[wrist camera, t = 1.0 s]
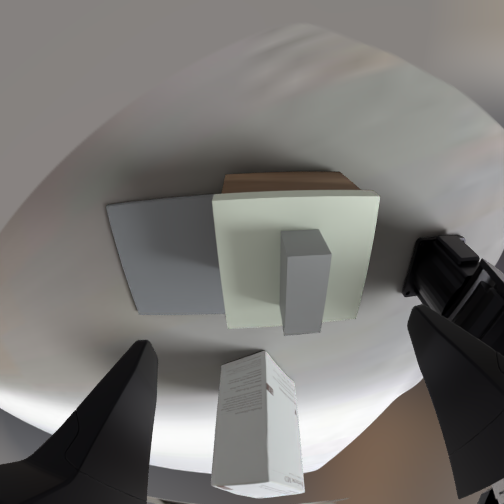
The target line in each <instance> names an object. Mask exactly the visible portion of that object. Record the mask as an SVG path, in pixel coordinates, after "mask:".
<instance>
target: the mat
mask: <svg viewBox="0 0 504 504" xmlns="http://www.w3.org/2000/svg"><path fill="white" fill-rule="evenodd" d="M213 196H214V194H208V195H195V196H183V197H172V198H162V199H152V200H143V201H134V202H126V203H118V204H110V205H107V206H106V209H107V213H108V217H109V221H110V225H111V229H112V232H113V236H114V240H115V243H116V247H117V250H118V254H119V257H120V260H121V263H122V267H123V270H124V273H125V276H126V279H127V282H128V285H129V288H130V291H131V293H132V296H133V299H134V302H135V305H136V307H137V310H138V313H139V315H186V314H226V313H225V306H224V299H223V291H222V284H221V276H220V268H219V260H218V251H217V243H216V234H215V225H214V216H213V206H212V199H213Z"/></svg>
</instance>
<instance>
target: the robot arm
mask: <svg viewBox="0 0 504 504" xmlns="http://www.w3.org/2000/svg"><path fill="white" fill-rule="evenodd" d="M465 242H466V240H465V238H464V237H463V236H456V235H445V236H437V237H427V238H419V239H418V240H417V241H416V245H415V249H414V252H413V256H412V260H411V264H410V267H409V271H408V274H407V277H406V281H405V284H404V287H403V290H402V294H403V296H404V297H411V296H418V298H419V299H420V301H421V302H422V304H421V305H417V306H414V307H413V309H412V311H411V314H410V317H409V320H408V324H407V327H408V331H409V334H410V338H411V341H412V344H413V348H414V351H415V355H416V358H417V361H418V364H419V367H420V370H421V372H422V375H423V378H424V380H425V383H426V386H427V388H428V391H429V394H430V396H431V399H432V402H433V405H434V408H435V411H436V414H437V417H438V420H439V424H440V426H441V430H442V433H443V437H444V440H445V444H446V447H447V451H448V455H449V459H450V463H451V467H452V471H453V475H454V480H455V484H456V490H457V495H458V499H461V498H464V497H466V496H468V495H471V494H473V493H475V492H477V491H480V490H482V489H484V488H486V487H488V486H490V485H492V487H491V488H490V489H488V490H487V491H486V492H484V493H483V494H481V497H480V499H479V502H478V504H504V274H503V273H502V272H501V271H500V270H498V269H497V268H496V267H494V266H493V265H491V264H490V263H489V262H487V261H486V260H484V259H483V258H482V259H481V261H480V263H479V259H480V258H479V256H478V255H477V254H476V253H475V252H474V251H473V250H472V249H471V248H470V247H469V246H467V245H466V244H465ZM421 243H422V244H421ZM420 244H421V245H420ZM157 371H158V358H157V355H156V353H155V351H154V349H153V347H152V345H151V343H150V342H149V341H148V340H137V341H136V342H135V343H134V344H133V345H132V346H131V347H130V348H129V350H128V351H127V352H126V353H125V354H124V355H123V356H122V357H121V358H120V360H119V361H118V362H117V363H116V364H115V365H114V366H113V367H112V369H111V370H110V371H109V372H108V373H107V374H106V375H105V377H104V378H103V379H102V380H101V381H100V382H99V383H98V384H97V386H96V387H95V388H94V389H93V390H92V391H91V393H90V394H89V395H88V396H87V397H86V398H85V399H84V401H83V402H82V403H81V404H80V405H79V406H78V408H77V409H76V410H75V411H74V412H73V413H72V414H71V416H70V417H69V418H68V419H67V420H66V421H65V422H64V424H63V425H62V426H61V427H60V428H59V429H58V430H57V431H56V432H55V433H54V434H53V435H52V436H51V437H50V438H49V439H48V440H47V441H46V442H45V443H44V444H43V445H42V446H41V447H39V449H38V450H37V451H35V452H34V454H32V455H31V456H29V457H28V458H26V459H24V460H21V461H18V462H12V463H7V464H1V465H0V504H147V502H146V501H147V486H148V473H149V461H150V451H151V441H152V432H153V424H154V416H155V408H156V400H157Z"/></svg>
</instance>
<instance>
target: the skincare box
mask: <svg viewBox="0 0 504 504" xmlns="http://www.w3.org/2000/svg"><path fill="white" fill-rule="evenodd" d="M211 485H212V486H214V487H217V488H220V489H223V490H226V491H229V492H232V493H234V494H238V495H244V496H248V497H253V498H266V497H276V496H284V495H292V494H300V493H304V492H305V490H304V479H303V466H302V454H301V442H300V431H299V421H298V411H297V401H296V391H295V384H294V381H292V380H291V379H290V378H289V377H288V376H287V375H286V374H285V373H284V372H283V371H282V370H281V369H280V368H279V367H278V366H277V364H276V363H275V362H274V361H273V359H272V358H271V357H270V355H269V354H268V353H267V352H266V351H262V352H259V353H256V354H253V355H250V356H247V357H244V358H242V359H239V360H235V361H232V362H229V363H226V364H224V365H222V366H221V375H220V385H219V396H218V406H217V417H216V428H215V440H214V452H213V463H212V476H211Z"/></svg>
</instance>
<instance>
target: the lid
mask: <svg viewBox="0 0 504 504" xmlns="http://www.w3.org/2000/svg"><path fill="white" fill-rule="evenodd" d="M379 201H380V196H379V195H378V194H376V193H375V192H374V191H373V190H294V191H264V192H243V193H226V194H214V196H213V199H212V206H213V216H214V225H215V234H216V243H217V251H218V260H219V268H220V276H221V284H222V291H223V299H224V306H225V313H226V321H227V328H228V329H234V328H256V327H273V326H283V331H284V336H287V335H299V334H310V333H320V331H321V325H322V322H331V321H341V320H349V319H356V317H357V313H358V309H359V305H360V301H361V297H362V293H363V288H364V284H365V280H366V275H367V270H368V266H369V261H370V256H371V250H372V245H373V240H374V234H375V228H376V222H377V215H378V208H379Z"/></svg>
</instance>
